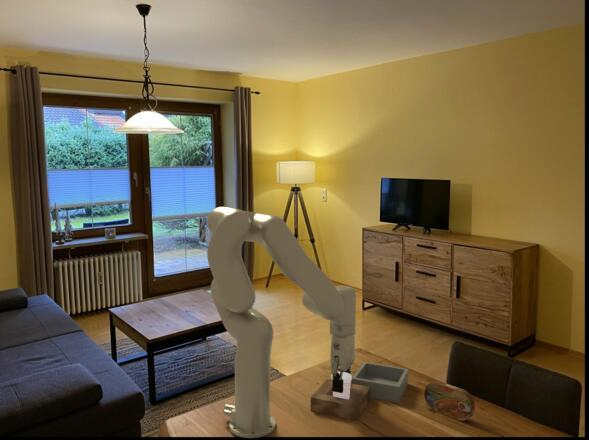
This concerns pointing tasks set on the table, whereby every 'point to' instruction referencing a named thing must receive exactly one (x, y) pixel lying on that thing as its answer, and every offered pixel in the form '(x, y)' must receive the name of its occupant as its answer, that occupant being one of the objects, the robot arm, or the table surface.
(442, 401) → the tin
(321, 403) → the holder block
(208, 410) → the table surface
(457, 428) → the table surface
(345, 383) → the beverage cup
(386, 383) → the tray
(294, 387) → the table surface
